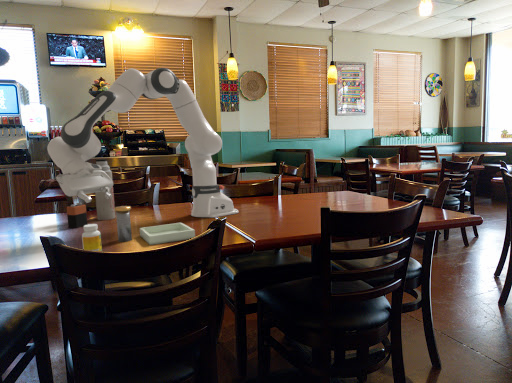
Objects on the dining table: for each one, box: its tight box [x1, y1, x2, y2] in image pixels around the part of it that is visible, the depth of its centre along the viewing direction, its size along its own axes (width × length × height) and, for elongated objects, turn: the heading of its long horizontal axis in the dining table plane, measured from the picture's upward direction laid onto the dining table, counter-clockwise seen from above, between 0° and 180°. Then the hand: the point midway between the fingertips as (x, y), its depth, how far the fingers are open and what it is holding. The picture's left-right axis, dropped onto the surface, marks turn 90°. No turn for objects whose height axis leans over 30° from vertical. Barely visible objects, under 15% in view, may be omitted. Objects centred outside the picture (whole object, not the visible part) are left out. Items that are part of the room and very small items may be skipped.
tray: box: [139, 222, 196, 246], centre depth 139 cm, size 16×16×3 cm
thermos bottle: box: [94, 158, 116, 221], centre depth 178 cm, size 8×8×28 cm
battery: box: [66, 202, 88, 229], centre depth 163 cm, size 4×7×10 cm, turn 160°
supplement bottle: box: [81, 223, 103, 252], centre depth 118 cm, size 5×5×10 cm
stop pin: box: [114, 205, 133, 243], centre depth 135 cm, size 6×6×12 cm
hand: (100, 199), depth 139 cm, fingers open, 8 cm apart
